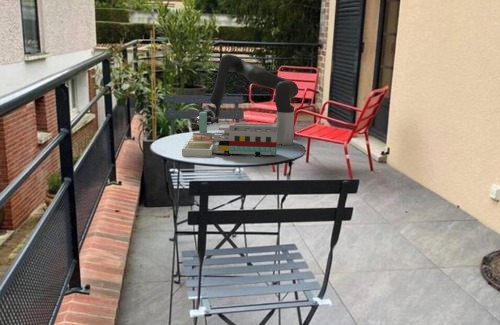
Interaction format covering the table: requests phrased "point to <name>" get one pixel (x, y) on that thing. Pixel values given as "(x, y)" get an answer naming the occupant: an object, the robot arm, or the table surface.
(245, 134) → the toy vehicle
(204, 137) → the tile
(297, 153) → the table surface
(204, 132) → the tall teal pillar block
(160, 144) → the table surface
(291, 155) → the table surface
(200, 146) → the board
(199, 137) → the tile
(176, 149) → the table surface
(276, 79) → the robot arm
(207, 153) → the tray
